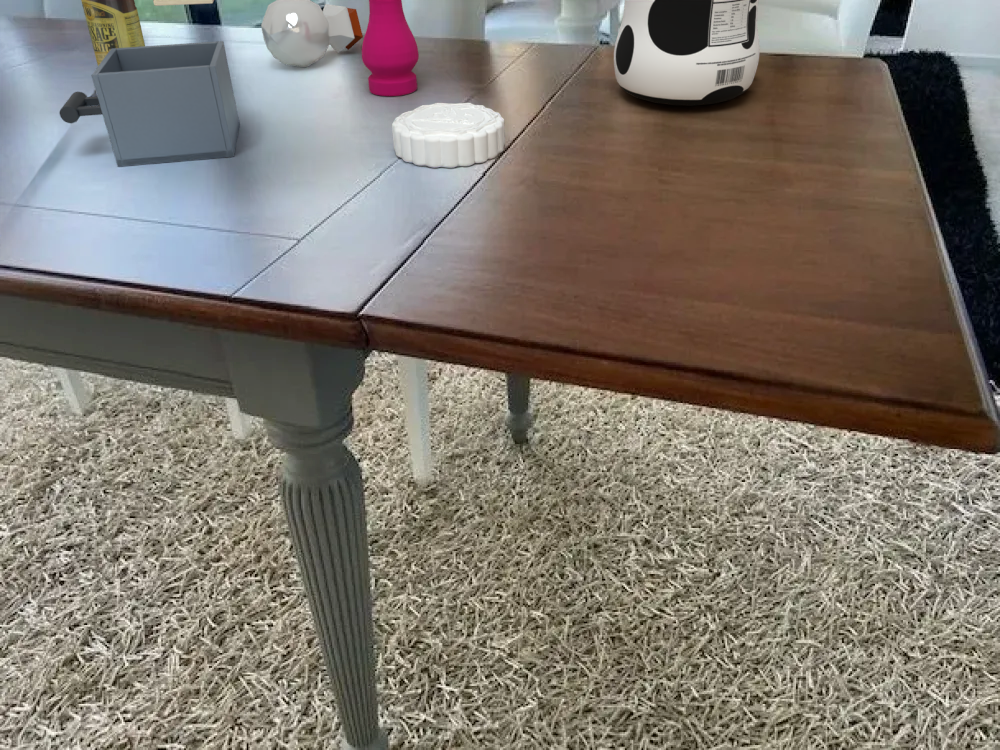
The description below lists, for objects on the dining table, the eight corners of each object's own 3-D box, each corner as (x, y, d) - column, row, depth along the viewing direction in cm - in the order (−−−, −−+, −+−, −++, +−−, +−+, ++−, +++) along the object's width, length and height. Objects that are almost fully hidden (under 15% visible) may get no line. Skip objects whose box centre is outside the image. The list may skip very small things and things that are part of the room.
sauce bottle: (96, 95, 112) (47, -74, 101) (136, 83, 117) (94, -81, 105) (126, 102, 109) (79, -71, 98) (166, 90, 113) (126, -78, 102)
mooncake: (516, 134, 96) (515, 101, 94) (489, 172, 86) (488, 138, 84) (415, 127, 98) (412, 96, 96) (377, 164, 89) (374, 130, 87)
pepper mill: (376, 81, 115) (358, -87, 103) (427, 83, 113) (416, -87, 102) (357, 96, 109) (337, -80, 98) (412, 99, 108) (397, -80, 96)
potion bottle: (267, 83, 120) (342, 71, 131) (304, 47, 113) (380, 37, 124) (236, 22, 119) (314, 15, 130) (271, -18, 112) (351, -22, 123)
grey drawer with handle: (68, 171, 89) (38, 78, 84) (89, 137, 98) (64, 51, 93) (233, 156, 92) (215, 66, 86) (239, 124, 101) (223, 40, 95)
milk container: (636, 70, 116) (645, -78, 106) (765, 83, 110) (789, -74, 100) (592, 107, 103) (598, -58, 93) (736, 123, 97) (759, -52, 87)
